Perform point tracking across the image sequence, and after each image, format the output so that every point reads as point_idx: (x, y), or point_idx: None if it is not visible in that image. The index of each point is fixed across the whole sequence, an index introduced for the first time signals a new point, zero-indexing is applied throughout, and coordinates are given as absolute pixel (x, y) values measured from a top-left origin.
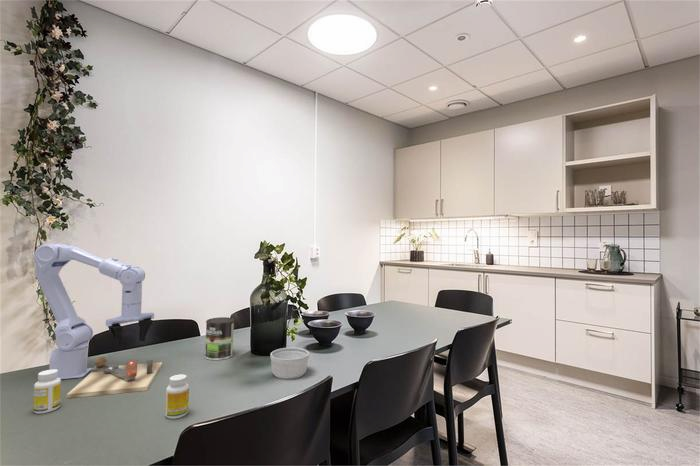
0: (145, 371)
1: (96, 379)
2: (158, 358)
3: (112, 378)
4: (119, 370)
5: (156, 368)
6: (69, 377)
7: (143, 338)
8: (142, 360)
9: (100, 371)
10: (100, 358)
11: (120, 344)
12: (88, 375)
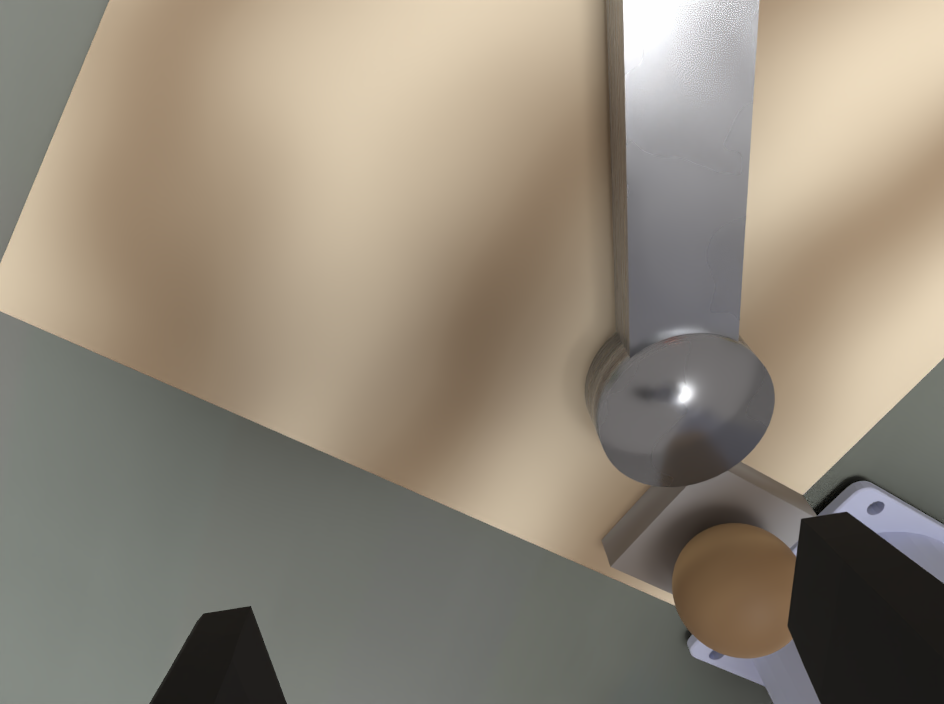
0: (322, 34)
1: (904, 219)
2: (10, 576)
3: (782, 93)
4: (681, 196)
5: (127, 49)
6: (941, 527)
7: (219, 666)
8: (202, 614)
9: None
10: (781, 615)
11: (840, 545)
12: (870, 422)
